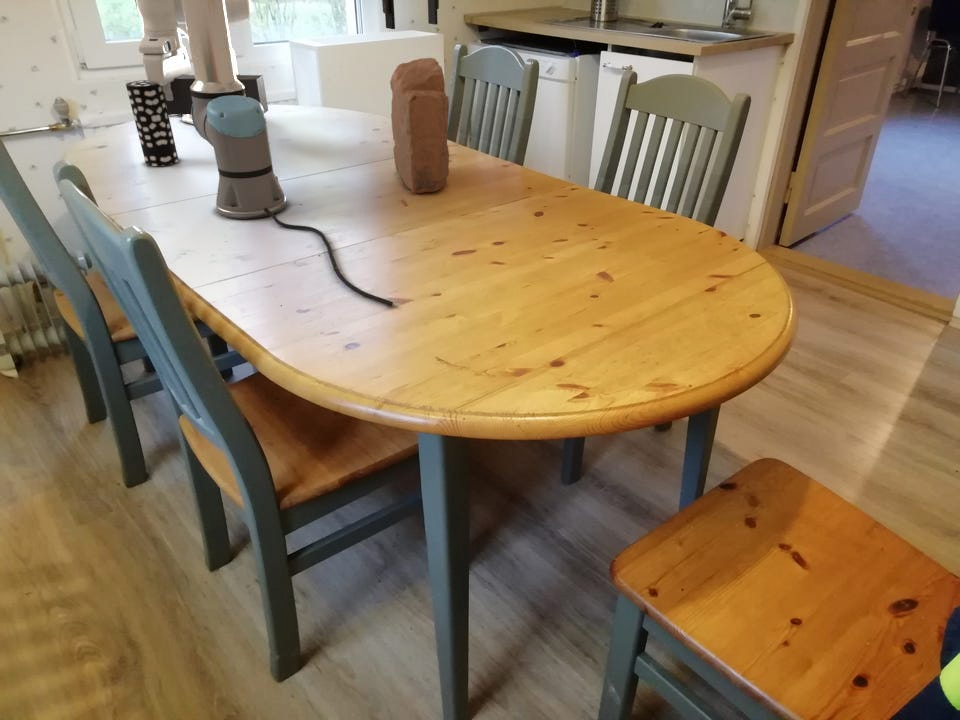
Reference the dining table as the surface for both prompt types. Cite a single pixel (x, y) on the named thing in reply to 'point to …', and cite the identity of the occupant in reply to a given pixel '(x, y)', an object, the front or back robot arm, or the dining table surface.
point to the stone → (420, 124)
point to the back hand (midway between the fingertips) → (176, 97)
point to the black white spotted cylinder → (152, 123)
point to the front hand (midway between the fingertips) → (412, 26)
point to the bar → (184, 98)
